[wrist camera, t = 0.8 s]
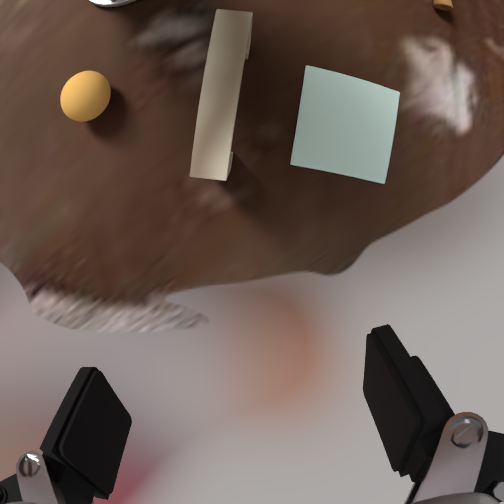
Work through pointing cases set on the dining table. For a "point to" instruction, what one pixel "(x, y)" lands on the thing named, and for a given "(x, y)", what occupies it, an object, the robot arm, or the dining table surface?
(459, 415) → the robot arm
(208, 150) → the bridge
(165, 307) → the dining table surface
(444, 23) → the dining table surface
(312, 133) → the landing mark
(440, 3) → the kendama
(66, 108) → the ball
